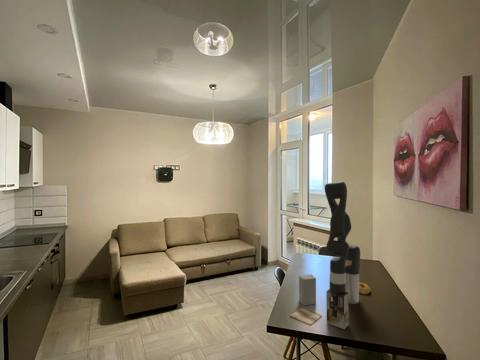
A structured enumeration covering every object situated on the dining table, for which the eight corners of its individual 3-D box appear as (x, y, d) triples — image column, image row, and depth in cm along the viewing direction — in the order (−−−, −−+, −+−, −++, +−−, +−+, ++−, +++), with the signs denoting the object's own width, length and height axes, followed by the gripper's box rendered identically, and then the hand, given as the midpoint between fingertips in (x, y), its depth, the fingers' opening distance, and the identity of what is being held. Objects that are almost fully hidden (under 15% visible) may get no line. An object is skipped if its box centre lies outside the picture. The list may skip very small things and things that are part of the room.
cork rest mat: (301, 308, 145) (301, 307, 145) (321, 316, 137) (321, 314, 137) (290, 316, 136) (290, 315, 136) (310, 325, 128) (310, 324, 128)
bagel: (356, 294, 163) (356, 286, 163) (351, 287, 174) (351, 280, 174) (373, 295, 162) (373, 288, 162) (367, 288, 173) (367, 281, 173)
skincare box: (311, 299, 156) (311, 273, 156) (316, 305, 149) (317, 277, 149) (298, 300, 154) (298, 274, 154) (303, 306, 147) (303, 278, 147)
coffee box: (349, 324, 128) (349, 292, 128) (344, 330, 124) (344, 296, 123) (331, 317, 134) (331, 286, 134) (326, 322, 130) (326, 290, 130)
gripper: (336, 274, 137) (336, 306, 137) (323, 282, 126) (323, 316, 126) (350, 278, 131) (350, 311, 132) (339, 287, 121) (338, 322, 121)
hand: (337, 313), depth 129 cm, fingers closed on coffee box, 6 cm apart
